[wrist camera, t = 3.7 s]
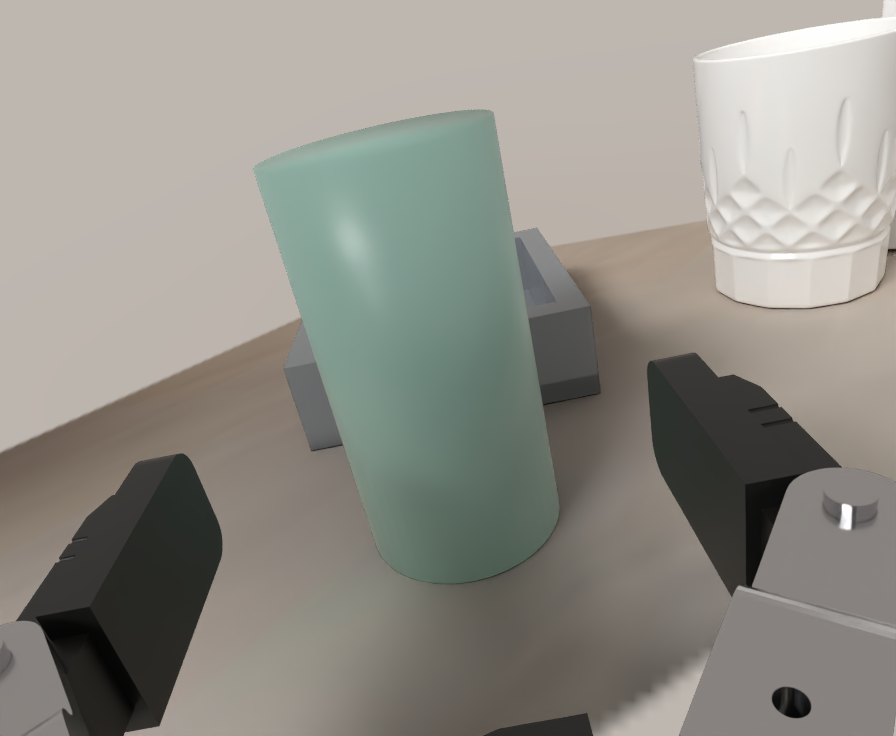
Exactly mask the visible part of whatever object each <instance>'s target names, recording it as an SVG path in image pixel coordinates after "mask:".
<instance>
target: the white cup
mask: <svg viewBox="0 0 896 736" xmlns="http://www.w3.org/2000/svg"><path fill="white" fill-rule="evenodd" d="M693 69H694V80H695V93H696V105H697V117H698V130H699V144H700V159H701V167H702V171H703V176H704V199H705V204H706V208H707V228H708V230H709V232H710V234H711V235H712V236H711V242H712V251H713V265H714V277H715V282H716V287H717V290H718V291H719V292H721V293H722V294H724V295H726V296H727V297H729V298H731V299H733V300H735V301H737V302H741V303H746V304H751V305H756V306H761V307H767V308H813V307H819V306H826V305H832V304H838V303H843V302H848V301H850V300H853V299H855V298H858V297H860V296H862V295H865V294H867V293H869V292H872V291H874V290H875V288H876V287H877V285H878V284H879V282H880V281H881V279H882V278H883V276H884V273H885V267H886V260H887V252H888V244H889V237H890V229H891V228H890V224H891V222H892V221H893V218H894V215H895V212H896V17H884V18H874V19H866V20H858V21H851V22H844V23H837V24H830V25H825V26H818V27H812V28H806V29H801V30H795V31H790V32H785V33H779V34H775V35H769V36H765V37H760V38H755V39H751V40H746V41H742V42H738V43H734V44H730V45H726V46H722V47H719V48H715V49H712V50H709V51H706V52H703V53H701V54H699V55H697V56H695V57H694V58H693Z"/></svg>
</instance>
